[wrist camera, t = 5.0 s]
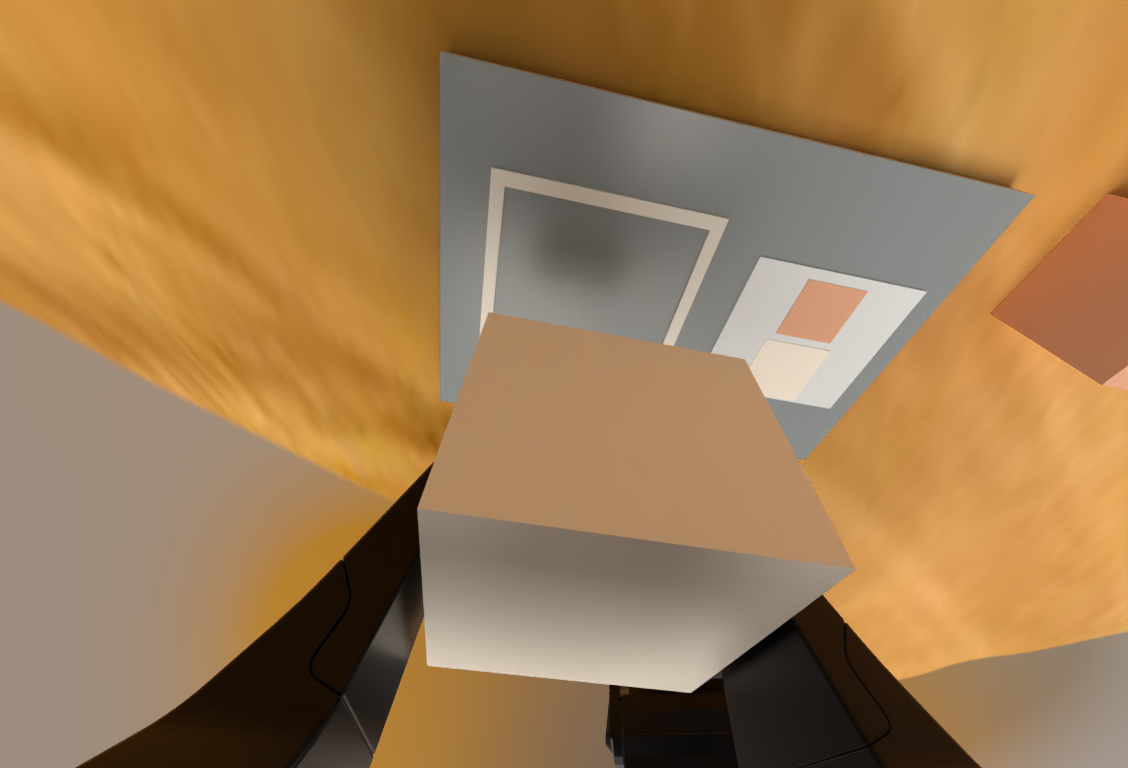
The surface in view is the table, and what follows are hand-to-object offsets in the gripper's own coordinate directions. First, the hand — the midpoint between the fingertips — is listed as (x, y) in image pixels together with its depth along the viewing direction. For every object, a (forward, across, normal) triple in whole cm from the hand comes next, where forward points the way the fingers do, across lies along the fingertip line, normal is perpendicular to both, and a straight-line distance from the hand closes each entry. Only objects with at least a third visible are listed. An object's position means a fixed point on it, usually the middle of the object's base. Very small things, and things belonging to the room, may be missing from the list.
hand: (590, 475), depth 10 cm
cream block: (+2, 0, 0) cm, 2 cm away
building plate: (+10, -4, 0) cm, 11 cm away
